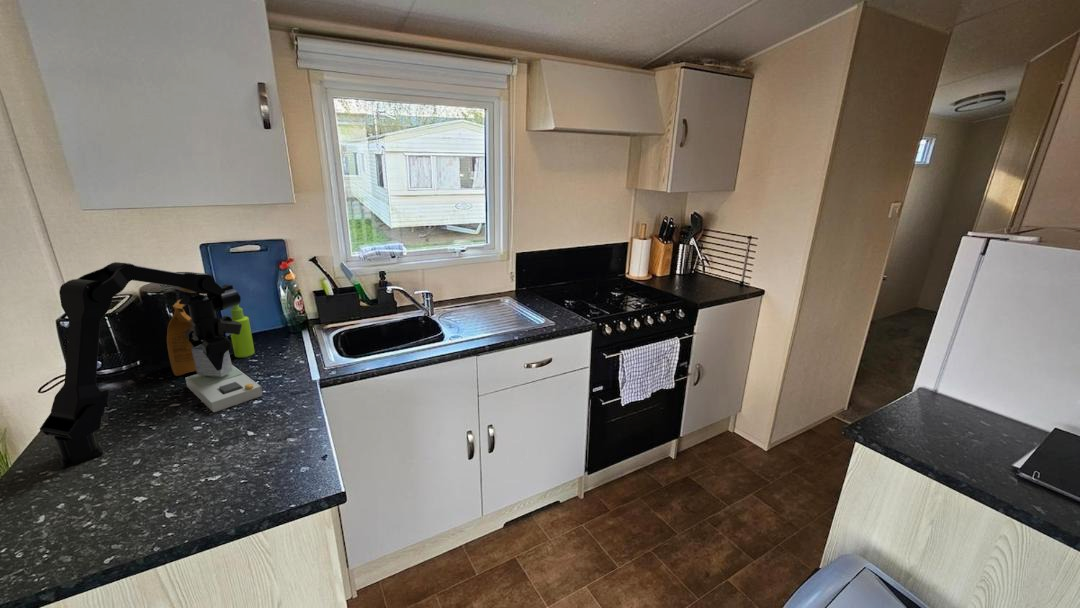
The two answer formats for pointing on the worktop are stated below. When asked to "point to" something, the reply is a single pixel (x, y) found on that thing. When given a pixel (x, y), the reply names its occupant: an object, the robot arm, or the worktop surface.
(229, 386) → the push button
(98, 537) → the worktop surface
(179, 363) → the amber trigger bottle
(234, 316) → the soap dispenser
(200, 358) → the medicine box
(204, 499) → the worktop surface
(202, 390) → the switch panel
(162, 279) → the robot arm
